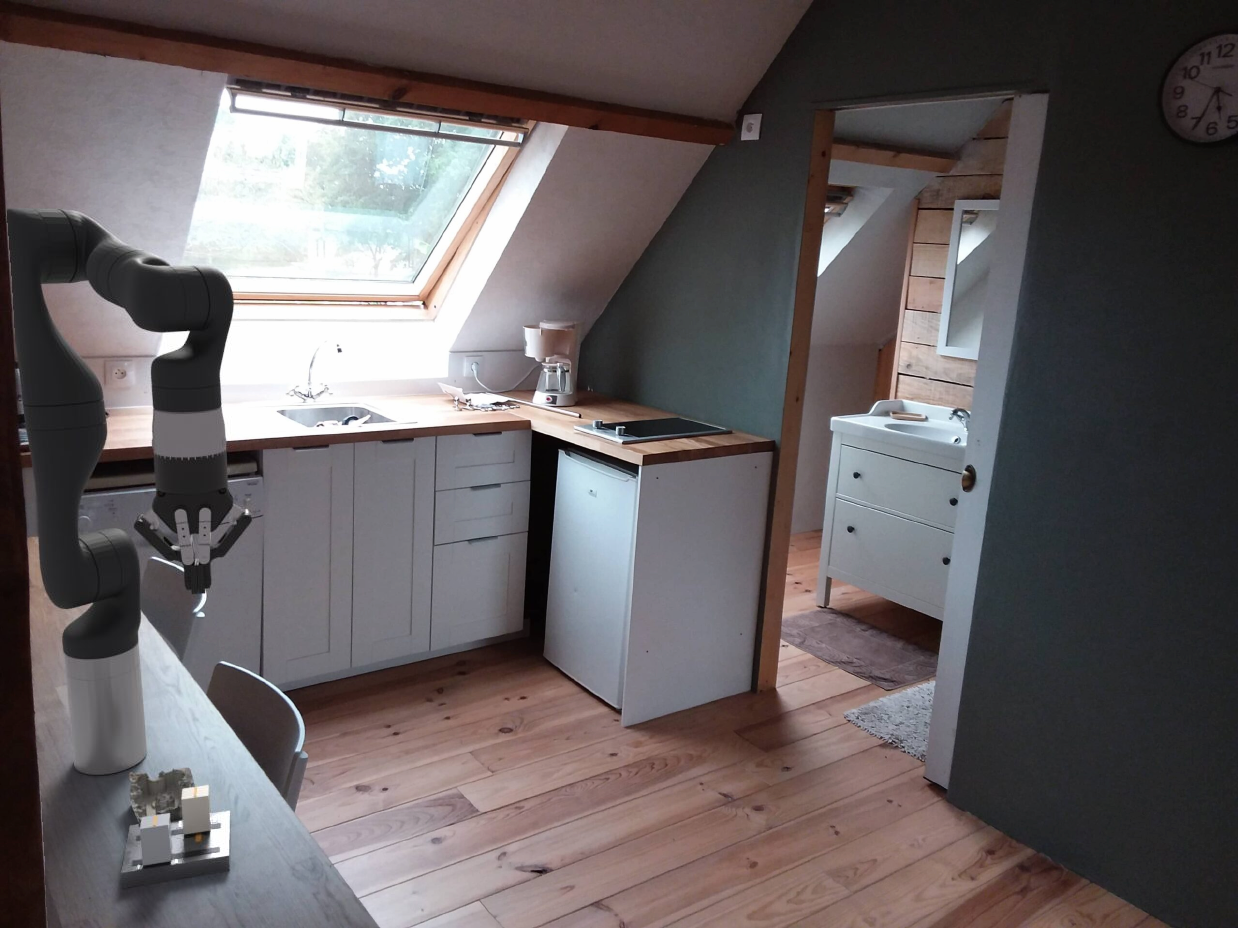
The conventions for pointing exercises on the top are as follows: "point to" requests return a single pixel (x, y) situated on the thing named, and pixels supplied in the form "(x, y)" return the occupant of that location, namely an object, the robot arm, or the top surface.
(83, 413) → the robot arm
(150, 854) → the slate fader cap
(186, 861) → the fader console
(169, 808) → the egg carton
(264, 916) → the top surface
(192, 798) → the ivory cap
